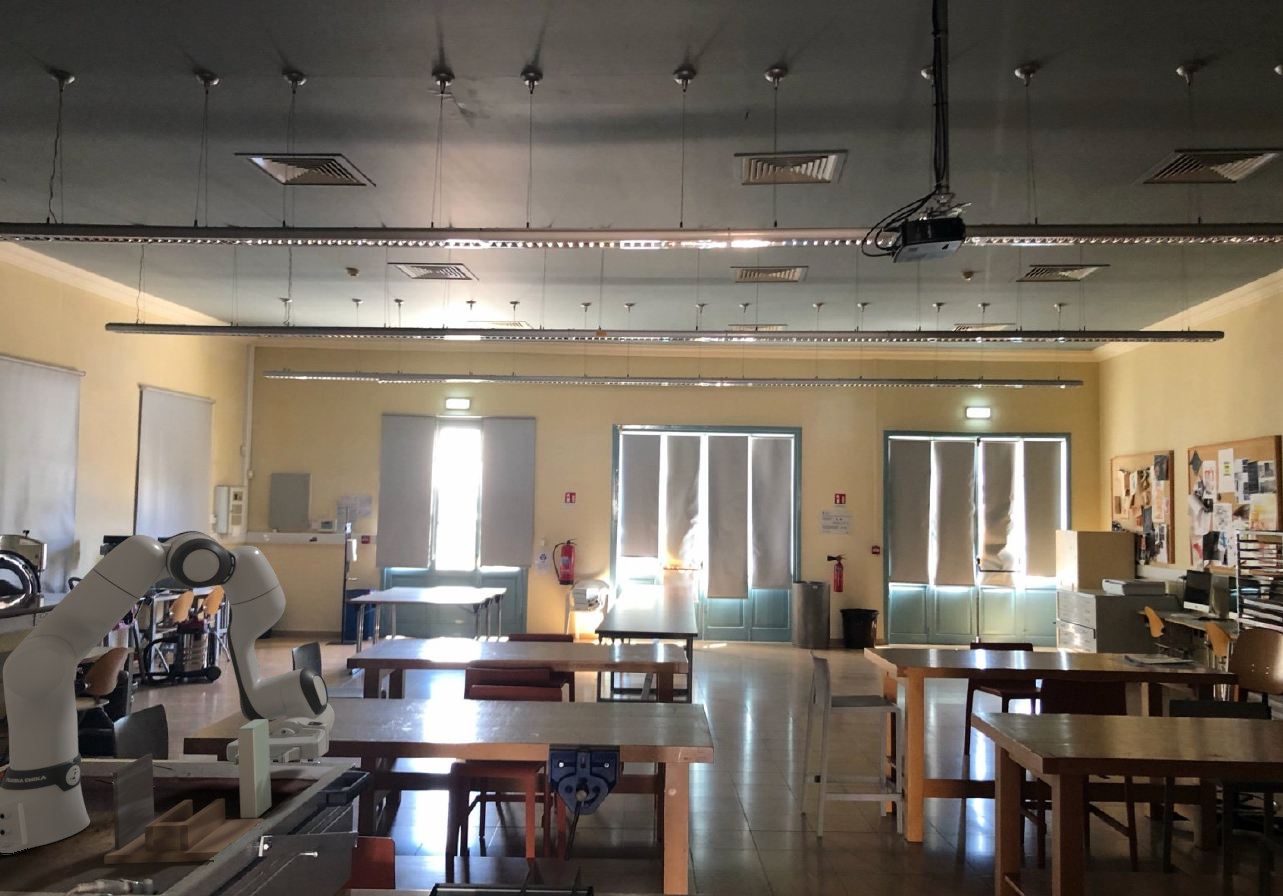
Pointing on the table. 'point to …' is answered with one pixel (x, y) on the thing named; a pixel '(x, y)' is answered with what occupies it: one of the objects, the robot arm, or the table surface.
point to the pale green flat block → (254, 768)
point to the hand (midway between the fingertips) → (259, 760)
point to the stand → (165, 823)
